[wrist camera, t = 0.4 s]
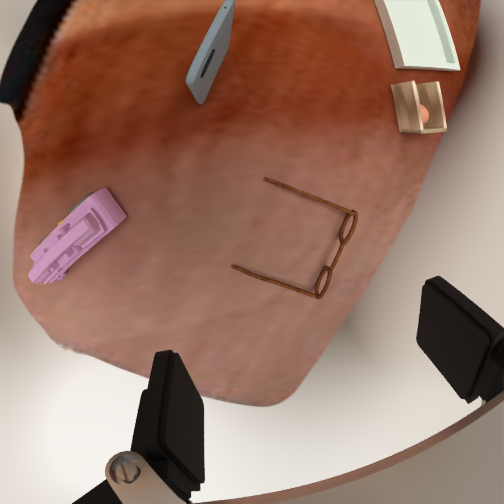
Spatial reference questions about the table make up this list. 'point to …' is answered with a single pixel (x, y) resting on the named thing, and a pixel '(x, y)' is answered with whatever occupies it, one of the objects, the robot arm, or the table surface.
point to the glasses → (326, 268)
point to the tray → (418, 34)
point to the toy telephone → (75, 236)
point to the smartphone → (211, 53)
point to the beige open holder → (409, 108)
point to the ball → (424, 114)
